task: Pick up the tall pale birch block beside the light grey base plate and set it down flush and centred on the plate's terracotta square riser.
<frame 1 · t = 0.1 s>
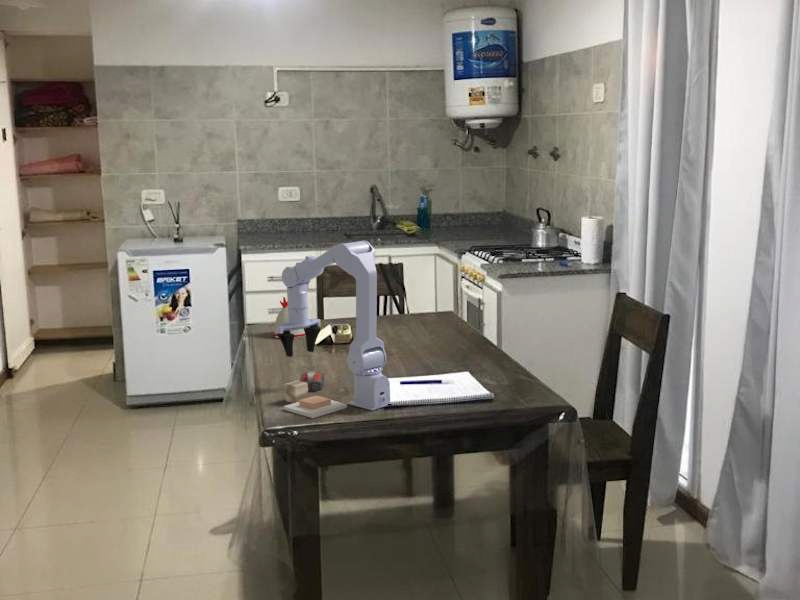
hand: (300, 353, 269), 10 cm above the table, tool pointing down, fingers open, 7 cm apart
birch block: (297, 401, 257), on the table
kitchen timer: (292, 336, 343), on the table
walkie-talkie: (307, 390, 269), on the table
base plate: (315, 408, 249), on the table
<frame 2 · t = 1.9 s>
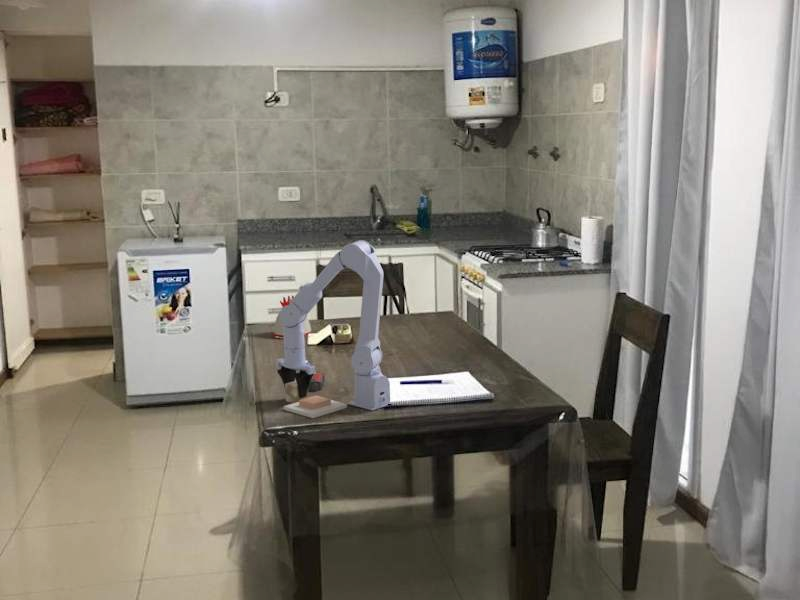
hand: (296, 395, 257), 2 cm above the table, tool pointing down, fingers open, 5 cm apart
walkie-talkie: (308, 390, 269), on the table, touching gripper
everything else where it was.
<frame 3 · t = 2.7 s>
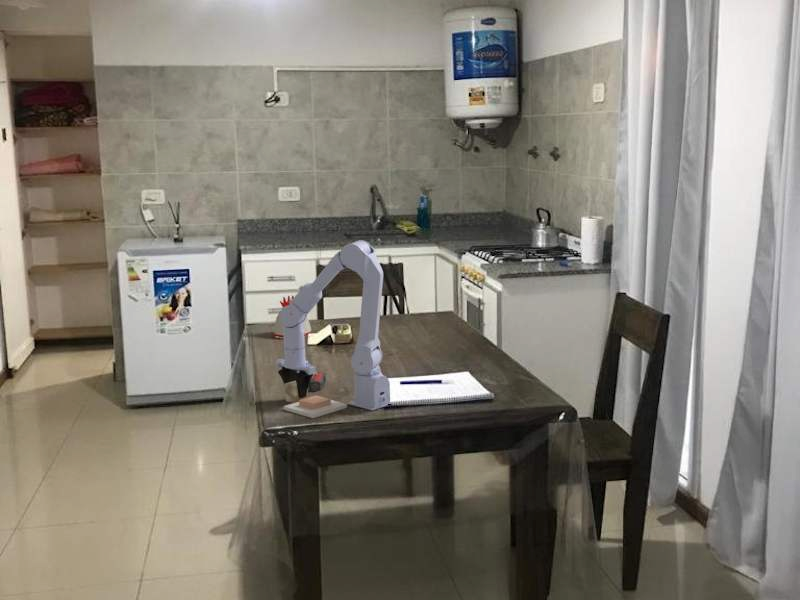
hand: (296, 395, 257), 1 cm above the table, tool pointing down, fingers closed on birch block, 4 cm apart
birch block: (297, 400, 257), on the table, touching gripper
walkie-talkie: (308, 390, 269), on the table
everything else where it was.
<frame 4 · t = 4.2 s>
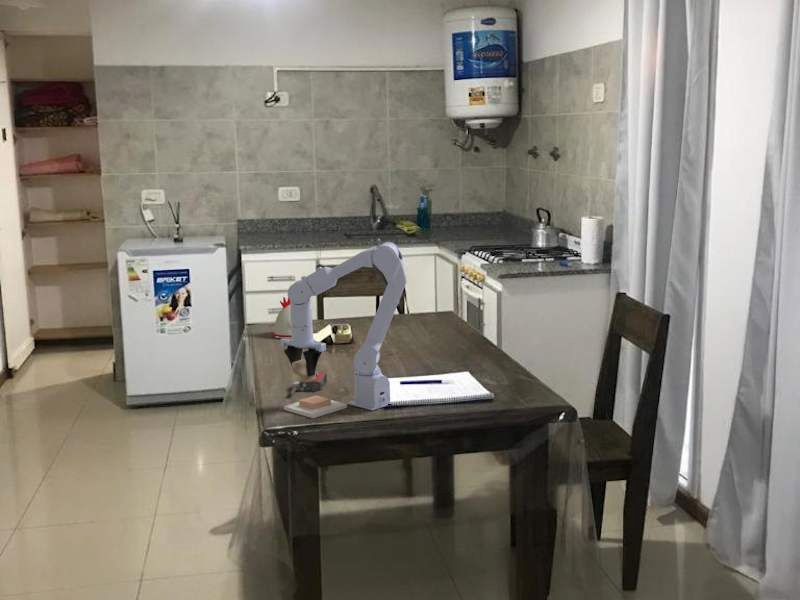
hand: (304, 374, 252), 8 cm above the table, tool pointing down, fingers closed on birch block, 4 cm apart
birch block: (304, 379, 252), point 7 cm above the table, touching gripper
everything else where it was.
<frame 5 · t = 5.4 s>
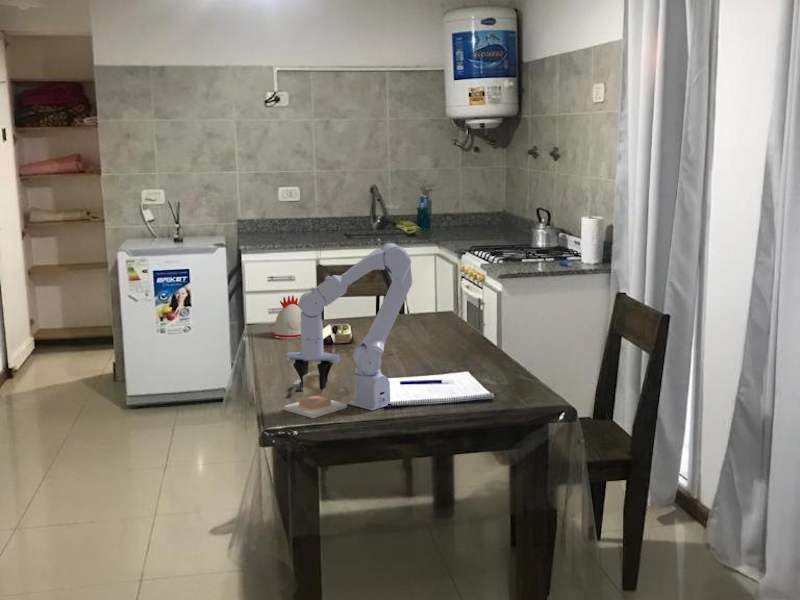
hand: (314, 387, 248), 6 cm above the table, tool pointing down, fingers closed on birch block, 4 cm apart
birch block: (314, 393, 248), point 4 cm above the table, touching gripper
everything else where it was.
when the fingers open (4 cm above the table, at t = 6.2 s): birch block stays where it is, resting on base plate.
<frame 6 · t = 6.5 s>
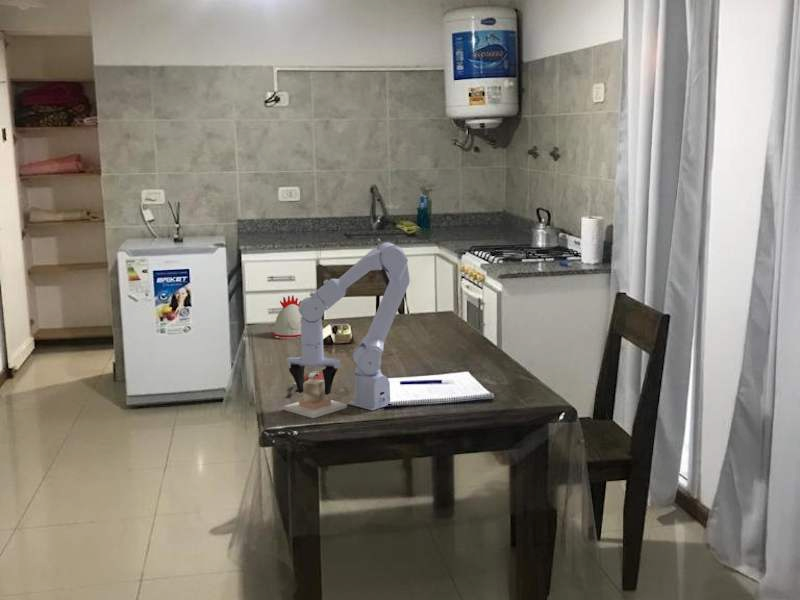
hand: (314, 392, 248), 4 cm above the table, tool pointing down, fingers open, 7 cm apart
birch block: (314, 399, 248), point 2 cm above the table, touching base plate
everything else where it was.
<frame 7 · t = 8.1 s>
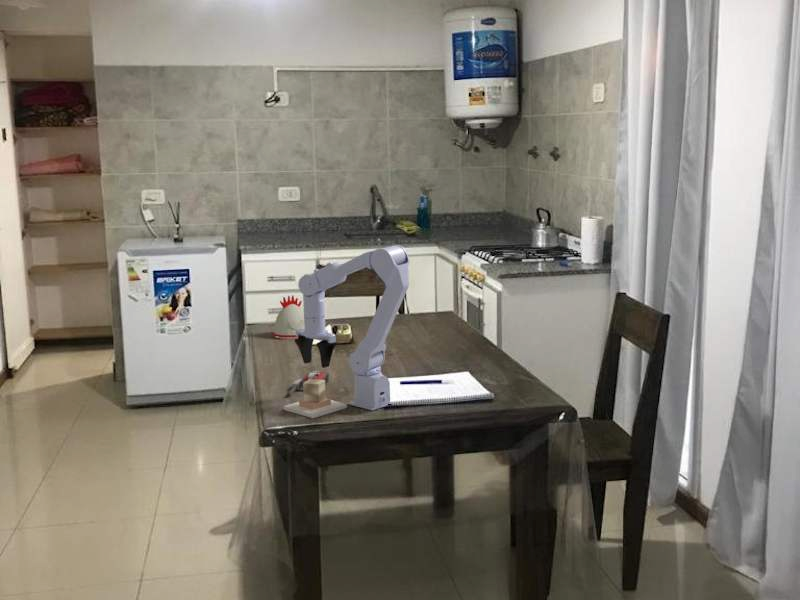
hand: (316, 364, 258), 9 cm above the table, tool pointing down, fingers open, 7 cm apart
nothing on the table moved.
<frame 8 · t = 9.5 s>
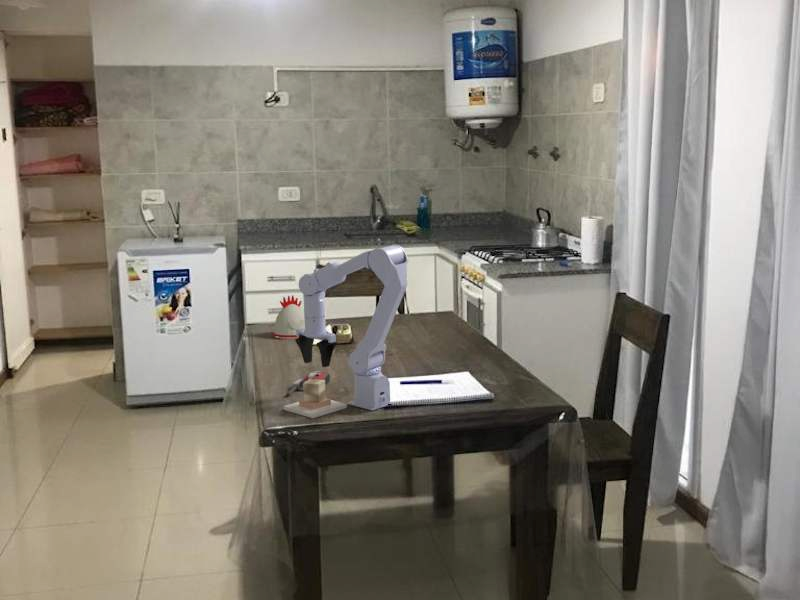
hand: (316, 364, 258), 9 cm above the table, tool pointing down, fingers open, 7 cm apart
nothing on the table moved.
at the end: birch block 0.0 cm off-centre on the base plate, point 2.5 cm above the base plate's base; birch block tilted 0°; the gripper is holding nothing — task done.
